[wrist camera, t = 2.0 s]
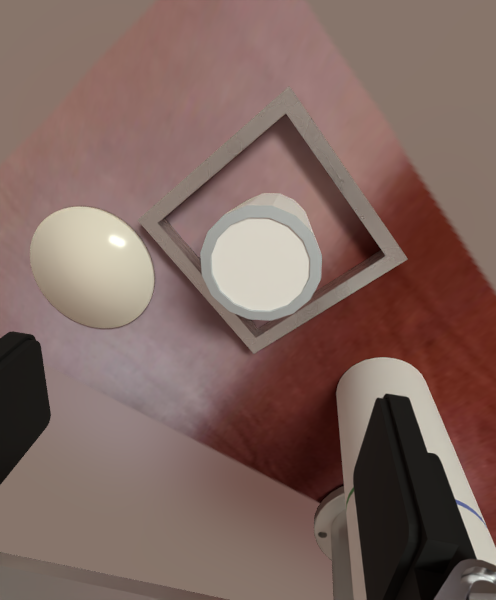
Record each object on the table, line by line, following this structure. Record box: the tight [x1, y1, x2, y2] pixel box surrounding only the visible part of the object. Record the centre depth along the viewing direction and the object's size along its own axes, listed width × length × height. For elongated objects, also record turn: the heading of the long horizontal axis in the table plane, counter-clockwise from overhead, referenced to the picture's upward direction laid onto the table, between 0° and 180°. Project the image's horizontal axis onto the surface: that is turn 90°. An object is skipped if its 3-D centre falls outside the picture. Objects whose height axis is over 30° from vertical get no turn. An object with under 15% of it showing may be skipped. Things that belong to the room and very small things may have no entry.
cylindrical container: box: [336, 357, 496, 600], centre depth 22 cm, size 7×7×25 cm
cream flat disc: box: [30, 206, 155, 328], centre depth 32 cm, size 10×10×1 cm
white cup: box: [200, 193, 322, 320], centre depth 26 cm, size 7×7×7 cm
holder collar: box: [138, 86, 407, 354], centre depth 28 cm, size 13×13×2 cm
